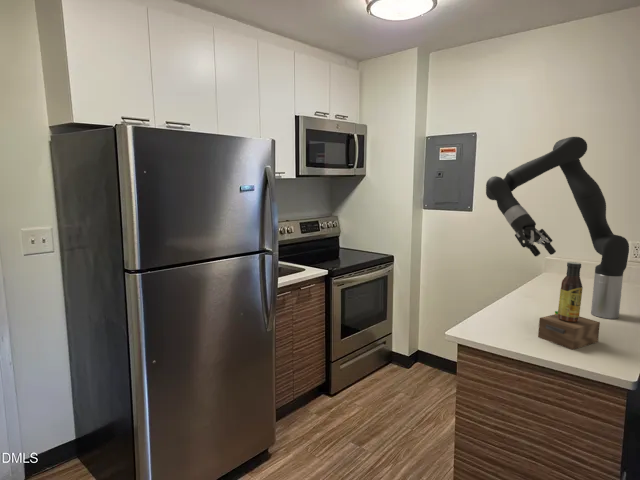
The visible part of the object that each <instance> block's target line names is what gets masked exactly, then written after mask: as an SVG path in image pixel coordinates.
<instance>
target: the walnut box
mask: <svg viewBox="0 0 640 480" xmlns="http://www.w3.org/2000/svg"><path fill="white" fill-rule="evenodd" d="M600 325H601V323H600V321H597V320H594V319H590V318H586V317H583V316H581V315H579V318H578V321H577V322H568V321H563V320H560V319H559V318H558V314H555V313H554V314H551V315H547V316H542V317H539V321H538V333H537V334H538V335H537V338H539V339H543V340H545V341H547V342H551V343H553V344H556V345H559V346H562V347H564V348H566V349H570V350H576V349H579V348H583V347H586V346H589V345H592V344H597V343H599V335H600V327H601V326H600Z"/></svg>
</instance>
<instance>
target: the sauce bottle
mask: <svg viewBox="0 0 640 480" xmlns="http://www.w3.org/2000/svg"><path fill="white" fill-rule="evenodd" d="M581 269H582V263H581V262H576V261H575V262H574V261H568V262H566V276H565V277H563V279H562V280H561V286H560V291H559V300H558V310H557V311H558V318H559V319H560V320H563V321H568V322H577V321H578V318H579V316H581V315H580V313H581V306H582V296H583V289H584V287H583V283H582V280H581V273H580V272H581Z"/></svg>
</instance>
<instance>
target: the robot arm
mask: <svg viewBox="0 0 640 480" xmlns="http://www.w3.org/2000/svg"><path fill="white" fill-rule="evenodd" d="M587 151H588V142H587V141H586V140H585V139H584V138H582V137H580V136H569V137H566V138H562V139H560V140H557V141H556V142H555V144H553V147H552V150H551V151H549V152H548V153H545V154H544V155H542V156H539V157H537V158H534V159H532V160H530V161H527V162H525V163H522V164H521V165H519V166H517V167H514V168H513V169H511V170H510V171H508V172H507V173H506V175H505V176H504V178H502V177H500V176H497V175H495V176H491V177H489V178H488V180H487V181H486V184H485V195H486V197H487V198H488V200H491V201H495V202H496V204H497V205H496V206H497V208H498V210H499V211H500V212H501V214H502V215H503V217H504V218H505V220H506V222H507V223H508V224H509V225H510V227H511V228H512V230H513V231H514V232H515V234H514V237H515V239H516V240H517V241H518V243H519V244H520V246H521V247H522V248H526V249H529V250H530V252H531V254H533V256H534V257H538V256H539V255H541V251H540V250H539V249H538V247H537V246H536V245H535V243H536V244H538V245H540V246H541V245H542V247H544V248H545V250H546V251H547V253H548V254H549V255H550V256H551V255H554V254H555V253H556V251H557V250H556V249H555V248H554V247H553V246H552V244H551V243H553V241H554V240H553V239H552V238H551V237H550V235H548V233H547V232H546V231H545V229H543V228H541V229H540V230H538V229H537V228H536V225H537V223H536V221H535V219H533V217H532V216H531V215H530V213H529V212H528V211H527V210H526V209H525V208H524V207H523V206H522V205H521V204H520V202H519V201H518V200H517V198H516V197H514V196H515V195H514V194H513V191H514V190H516V189H517V188H519V187H520V186H522V185H524V184H526V183H528V182H529V181H532V180H533V179H535V178H537V177H539V176H541V175H543V174H544V173H547V172H548V171H552V169H555V168H557V167H560V170H561V171H562V173H563V175H564V177H565V179H566V182H567V184H568V187H569V188H570V189H569V190H570V191H571V193H572V196H573V198H574V200H575V201H574V202H575V203H576V206H577V207H578V210H579V211H580V213H581V216H582V219H583V221H584V222H585V225H586V227H587V229H588V233H589V236H590V239H591V243H592V246H593V248H594V250H595V251H596V253H597V254H599V255H601V262H600V263H599V264H598V265H595V267H594V268H595V269H594V276H593V277H594V278H593V287H592V300H591V308H590V309H591V310H590V314H591V315H592V316H595V317H598V318H603V319H609V320H610V319H611V320H615V319H619V316H620V309H621V300H622V299H621V298H622V289H623V280H624V279H623V278H624V272H625V271H626V268H627V266H628V260H629V253H630V244H629V241H628V240H627V239H626V237H624V236H621V235H619V234H615V233H614V232H613V231H612V230H611V228H610V225H609V223H608V220H607V203H606V199H605V196H604V194H603V192H602V189H601V187H600V185H599V184H598V182H597V181H596V180H595V179H594V178H593V177H592V176H591V175H590V174H589V173H588V172H587V170H585V169H584V167H583V164H582V163H581V160H580V159H581V158H582V157H583V156H585V154H586V153H587Z"/></svg>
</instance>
